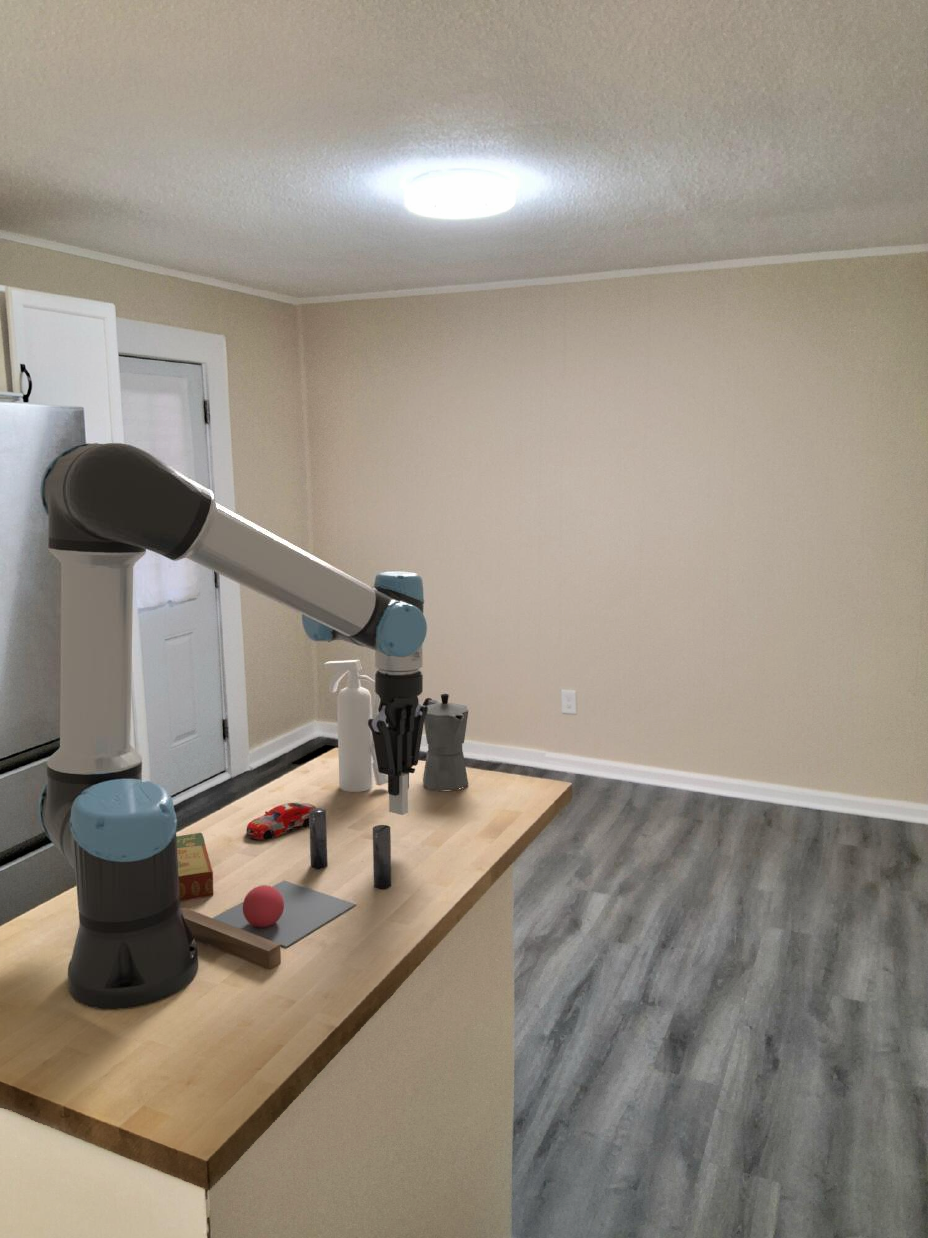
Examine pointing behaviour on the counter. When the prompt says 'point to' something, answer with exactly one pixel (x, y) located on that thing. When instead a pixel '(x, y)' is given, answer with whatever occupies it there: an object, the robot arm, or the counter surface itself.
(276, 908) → the ball
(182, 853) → the carton
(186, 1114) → the counter surface
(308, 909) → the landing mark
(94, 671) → the robot arm
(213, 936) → the stopper wall
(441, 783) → the coffeepot
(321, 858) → the far post
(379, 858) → the near post
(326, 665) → the fire extinguisher
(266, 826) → the race car
